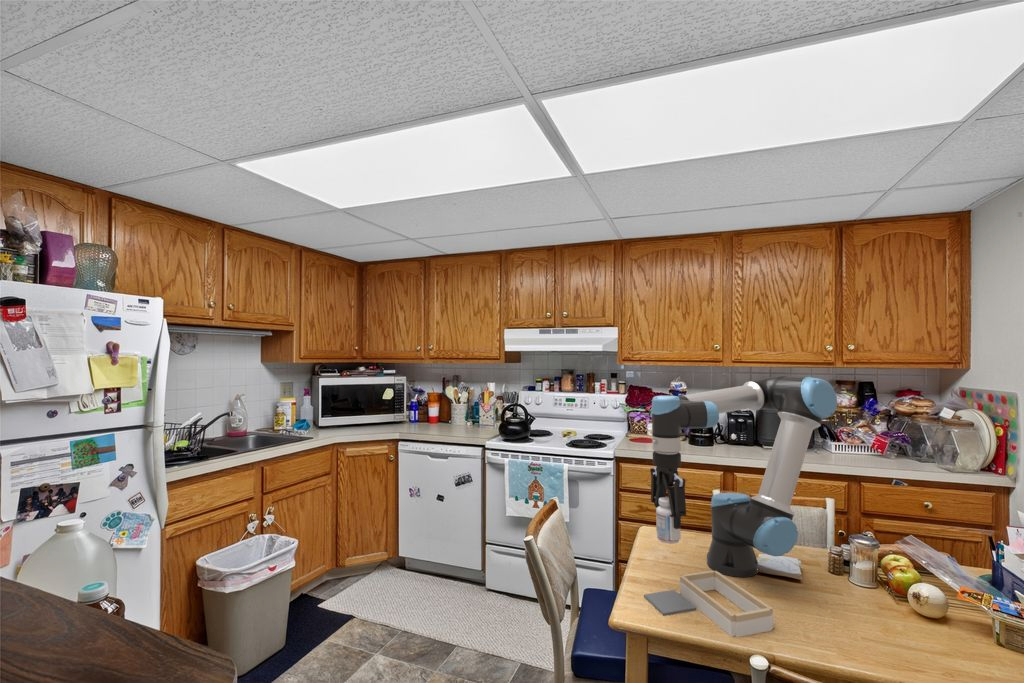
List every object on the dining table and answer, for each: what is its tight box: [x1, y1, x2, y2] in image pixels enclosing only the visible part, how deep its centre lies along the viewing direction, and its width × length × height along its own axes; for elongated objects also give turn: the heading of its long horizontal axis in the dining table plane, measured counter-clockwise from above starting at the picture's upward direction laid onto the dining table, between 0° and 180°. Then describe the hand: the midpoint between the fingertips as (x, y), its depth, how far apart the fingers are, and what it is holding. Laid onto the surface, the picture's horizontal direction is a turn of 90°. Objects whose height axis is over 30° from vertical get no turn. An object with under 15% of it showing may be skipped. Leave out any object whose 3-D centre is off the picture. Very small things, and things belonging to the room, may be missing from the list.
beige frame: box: [679, 570, 774, 638], centre depth 127 cm, size 12×22×5 cm, turn 14°
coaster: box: [643, 589, 697, 616], centre depth 131 cm, size 10×10×1 cm
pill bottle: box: [655, 496, 680, 545], centre depth 131 cm, size 6×6×11 cm
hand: (668, 534), depth 131 cm, fingers closed on pill bottle, 6 cm apart
